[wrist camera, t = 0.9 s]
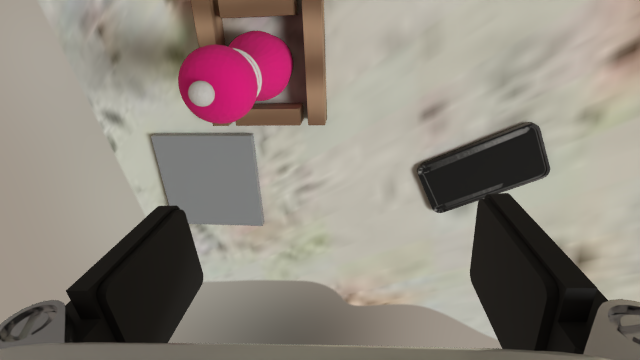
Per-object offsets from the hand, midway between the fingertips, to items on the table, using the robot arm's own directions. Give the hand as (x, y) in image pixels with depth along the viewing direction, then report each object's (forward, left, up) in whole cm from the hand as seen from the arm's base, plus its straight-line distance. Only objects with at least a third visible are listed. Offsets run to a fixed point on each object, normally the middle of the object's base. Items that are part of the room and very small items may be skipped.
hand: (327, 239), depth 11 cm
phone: (+12, +17, -34) cm, 40 cm away
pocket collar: (-2, -10, -33) cm, 35 cm away
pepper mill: (-2, -10, -33) cm, 35 cm away
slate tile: (+14, -20, -33) cm, 41 cm away
